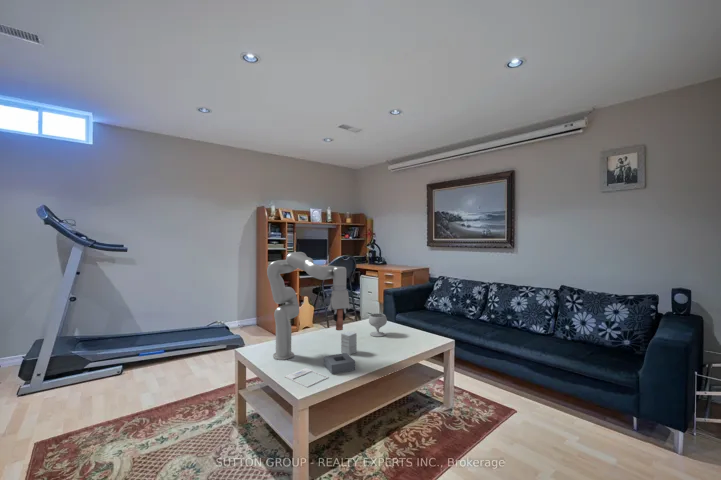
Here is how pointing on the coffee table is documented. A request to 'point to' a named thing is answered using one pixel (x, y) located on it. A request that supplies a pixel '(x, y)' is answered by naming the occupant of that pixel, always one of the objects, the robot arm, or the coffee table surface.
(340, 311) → the peg
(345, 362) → the socket block
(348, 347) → the supplement box
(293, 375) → the photo frame
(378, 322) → the chalice
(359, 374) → the coffee table surface
